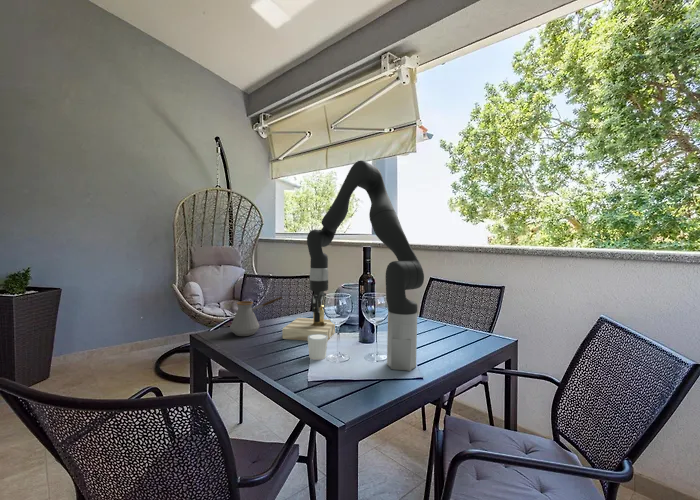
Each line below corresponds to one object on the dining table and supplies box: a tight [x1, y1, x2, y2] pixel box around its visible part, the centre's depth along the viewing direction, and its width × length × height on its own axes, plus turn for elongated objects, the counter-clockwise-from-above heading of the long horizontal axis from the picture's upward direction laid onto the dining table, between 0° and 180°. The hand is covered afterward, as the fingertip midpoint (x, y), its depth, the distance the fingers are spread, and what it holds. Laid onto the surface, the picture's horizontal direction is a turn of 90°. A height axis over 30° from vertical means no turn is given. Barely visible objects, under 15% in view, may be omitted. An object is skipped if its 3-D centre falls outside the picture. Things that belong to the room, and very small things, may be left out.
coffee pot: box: [229, 296, 284, 337], centre depth 144 cm, size 21×12×15 cm, turn 100°
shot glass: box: [307, 334, 329, 361], centre depth 117 cm, size 7×7×7 cm
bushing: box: [312, 304, 325, 326], centre depth 143 cm, size 6×6×8 cm
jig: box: [282, 317, 336, 342], centre depth 144 cm, size 18×18×4 cm
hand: (318, 320), depth 143 cm, fingers closed on bushing, 4 cm apart
